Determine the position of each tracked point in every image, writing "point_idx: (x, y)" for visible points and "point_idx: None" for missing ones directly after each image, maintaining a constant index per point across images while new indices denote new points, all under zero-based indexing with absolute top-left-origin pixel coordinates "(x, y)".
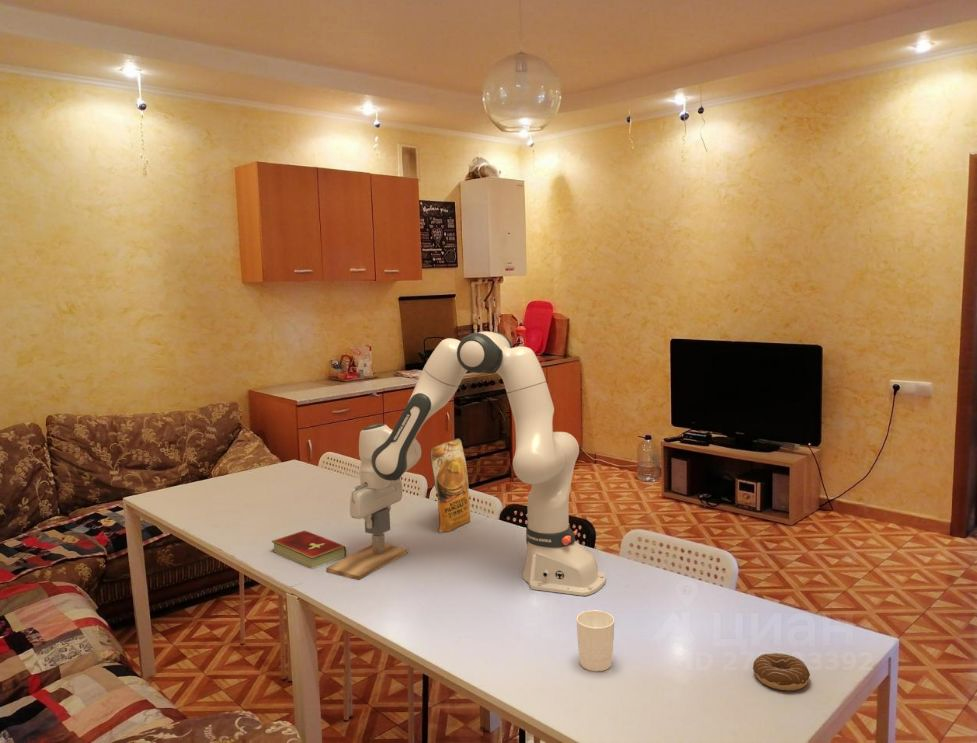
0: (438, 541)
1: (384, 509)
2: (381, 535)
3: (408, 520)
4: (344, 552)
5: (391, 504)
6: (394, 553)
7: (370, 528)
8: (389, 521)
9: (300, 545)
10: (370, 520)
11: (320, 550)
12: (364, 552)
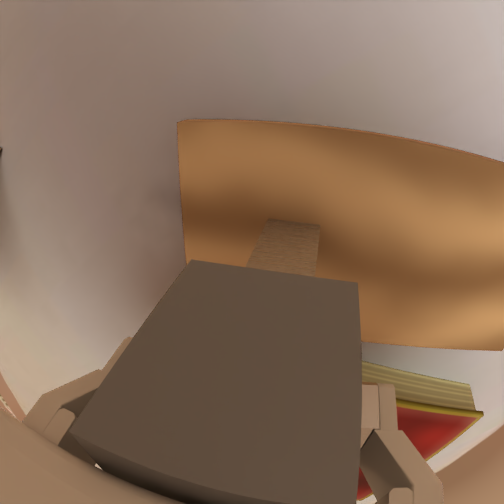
0: (38, 92)
1: (145, 474)
2: None
3: (17, 296)
4: None
5: (13, 423)
6: (271, 150)
7: (389, 385)
8: (160, 310)
9: None
10: (409, 456)
11: (418, 428)
12: None
